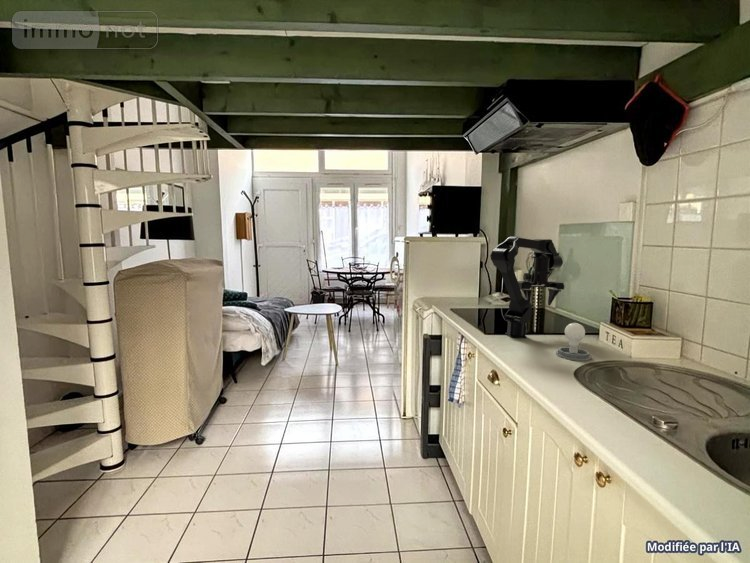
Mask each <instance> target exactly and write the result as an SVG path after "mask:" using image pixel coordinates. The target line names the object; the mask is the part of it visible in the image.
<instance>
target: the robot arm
mask: <svg viewBox="0 0 750 563" xmlns="http://www.w3.org/2000/svg"><path fill="white" fill-rule="evenodd" d="M519 248H520V249H521V248H522V249H527V250H528V249H529V250H531V251H532V252H534V254H533V255H532V256H531V258H532V259H534V269H533V270H532V271H531V274H530V273H529V272H525V273H523V276H522V279H523V280H518V279H517V276H516V273H515V270H514V265H515V260H516V259H515V257H516V256H517V255H518V254H519ZM490 260H491V262H492V264H493V266H494V267H495V268H496V269H497V270H498V271H499V272H500V274H501V277H502V280H503V282H504V286H505V288H506V291H507V294H508V297H509V299H510V300H509V304H508V310H507V311H506V312H505V314H504V317H503V318H504V320H505V321H507V330H506V332H505V335H506V336H509V337H510V338H512V339H513V338H514V339H515V338H517V339H518V338H519V339H521V338H528V337H527V328H528V327H527V324H529V323H530V320H531V317H532V315H533V314H532V313H533V308H532V307H533V305H532V303H531V298H532V291H533V290H532V289H531V288H547V290H548V298H547V306H551V304H552V302H553V301H554V299H555V298H556V296H557V295H558V294H559V293H560V292H562V290H565V284H564V282H561V281H553V280H552V281H549V275H551V271H550V269H559V268H561V267H562V266H563V263H564V260H563V257H562V256H560V252H557V250H556V246H555V244H554V242H553V240H552V239H550V238H549V239H548V238H533V239H531V238H529V239H528V238H523V237H520V236H509V237H507V238H506V239H505V240H504V241H503V242H501V243H499V244H498V245H497V246H496V247H495V248H493V250H492V251H491V253H490ZM522 292H523V293H522ZM523 295H524V296H523Z"/></svg>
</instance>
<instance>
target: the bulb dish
mask: <svg viewBox="0 0 750 563" xmlns="http://www.w3.org/2000/svg"><path fill="white" fill-rule="evenodd" d="M569 347H570V346H561V347H558V348H557V350H556V351H555V355H556V356H557V357H559V358H561V359H564V358H565V359H564V360H568V359H569V360H570V361H576V362H587V361H591V359H592V356H591V355H590V352H589V351H588V350H587V349H582V348H579V347H578V353H576V354H571V353H570V352H569ZM569 360H568V361H569Z"/></svg>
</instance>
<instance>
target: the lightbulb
mask: <svg viewBox="0 0 750 563" xmlns="http://www.w3.org/2000/svg"><path fill="white" fill-rule="evenodd" d="M585 334H586V330H585V327H584V326H583V325H582V324H580V323H578V322H571V323H568V325H566V327H565V328H564V335H565V337H566V339H567V340H568V341H567V342H568V345H569V346H568V347H569V352H570V353H571V354H576V353H578V348H579V346H580V343H581V341H582V340H583V339H584V337H585V336H586V335H585Z"/></svg>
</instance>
